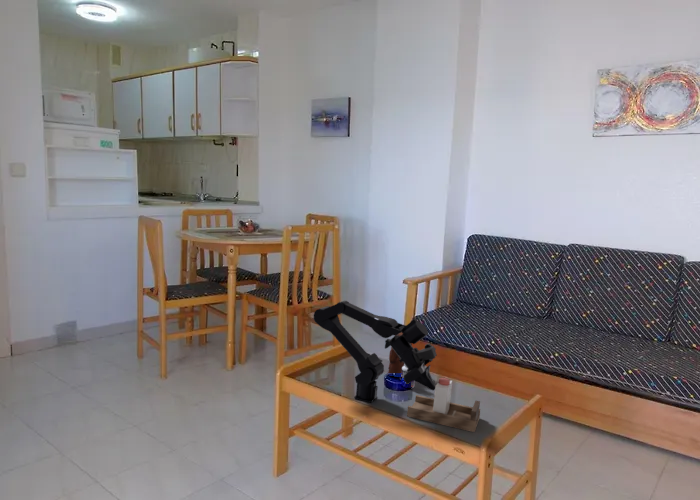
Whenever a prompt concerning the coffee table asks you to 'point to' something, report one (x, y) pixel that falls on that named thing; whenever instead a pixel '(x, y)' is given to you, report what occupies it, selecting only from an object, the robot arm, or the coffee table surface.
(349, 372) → the coffee table surface
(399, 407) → the coffee table surface
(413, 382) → the pill bottle
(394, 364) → the wooden figurine
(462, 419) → the wooden tray
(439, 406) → the white carton
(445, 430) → the coffee table surface
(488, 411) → the coffee table surface
